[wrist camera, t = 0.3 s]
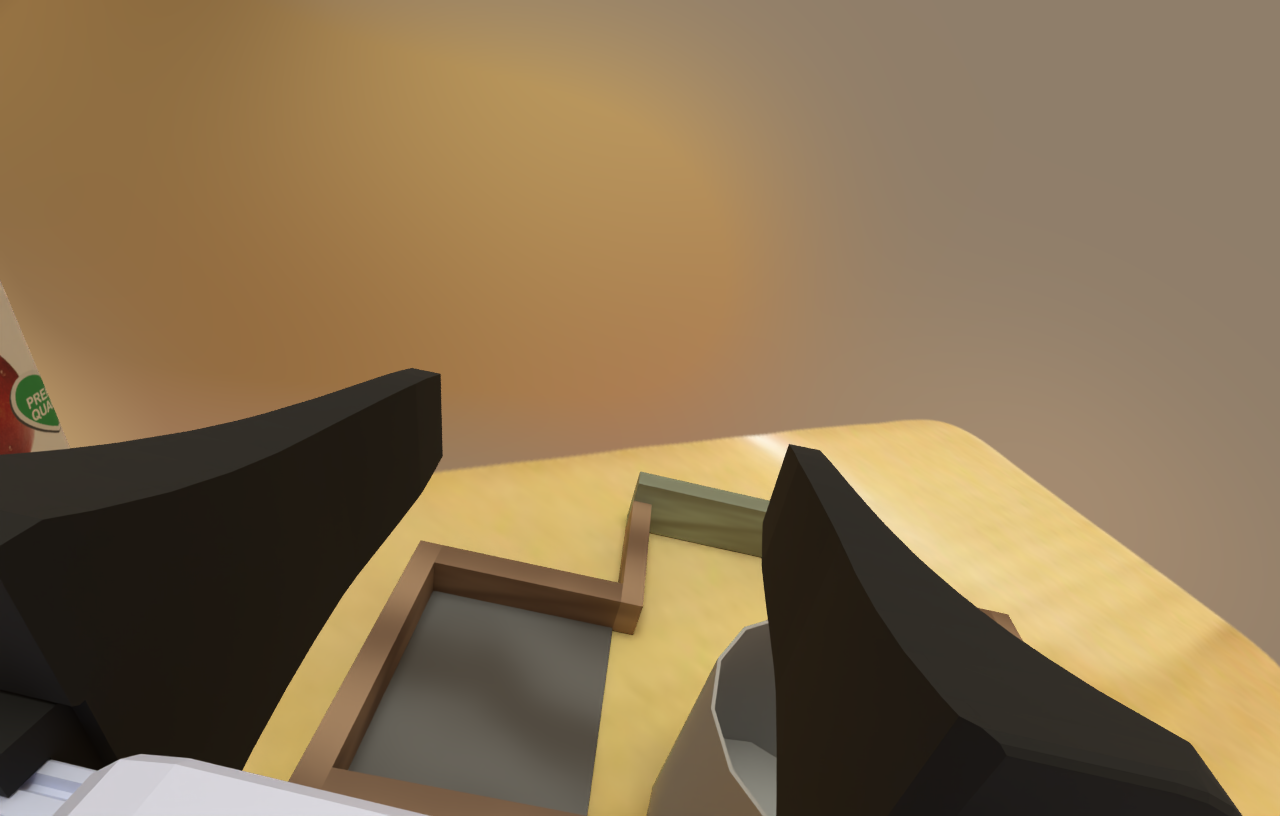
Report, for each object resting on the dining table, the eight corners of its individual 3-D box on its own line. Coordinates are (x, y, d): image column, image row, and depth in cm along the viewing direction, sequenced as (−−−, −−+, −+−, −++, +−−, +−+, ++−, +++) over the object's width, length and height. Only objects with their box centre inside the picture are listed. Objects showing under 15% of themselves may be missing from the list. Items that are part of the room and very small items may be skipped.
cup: (848, 810, 26) (961, 694, 21) (814, 1039, 20) (964, 957, 14) (687, 709, 29) (751, 581, 23) (608, 885, 22) (671, 765, 17)
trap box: (1257, 1182, 19) (1364, 1172, 17) (194, 1007, 17) (163, 971, 15) (961, 588, 41) (992, 551, 38) (467, 479, 39) (470, 433, 36)
